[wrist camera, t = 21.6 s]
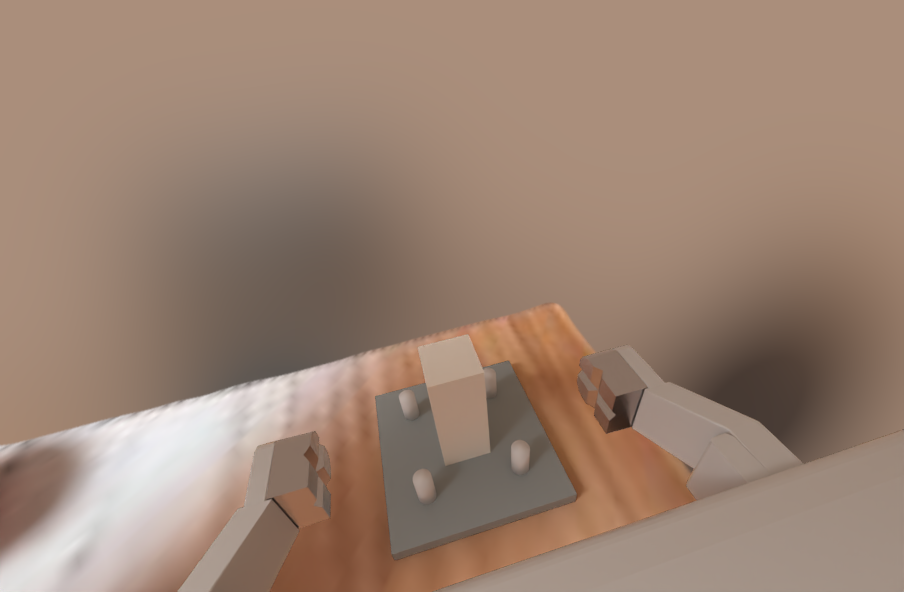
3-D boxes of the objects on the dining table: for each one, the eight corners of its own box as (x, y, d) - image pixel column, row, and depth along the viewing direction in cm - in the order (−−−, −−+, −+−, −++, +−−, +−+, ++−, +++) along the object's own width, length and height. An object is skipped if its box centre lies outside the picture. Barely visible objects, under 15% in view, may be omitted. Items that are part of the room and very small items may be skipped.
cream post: (445, 466, 39) (427, 387, 31) (435, 425, 43) (417, 347, 35) (490, 452, 40) (484, 372, 32) (476, 413, 44) (468, 334, 36)
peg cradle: (394, 560, 34) (383, 539, 31) (377, 403, 48) (368, 378, 45) (575, 501, 36) (580, 476, 33) (508, 368, 51) (508, 341, 47)
